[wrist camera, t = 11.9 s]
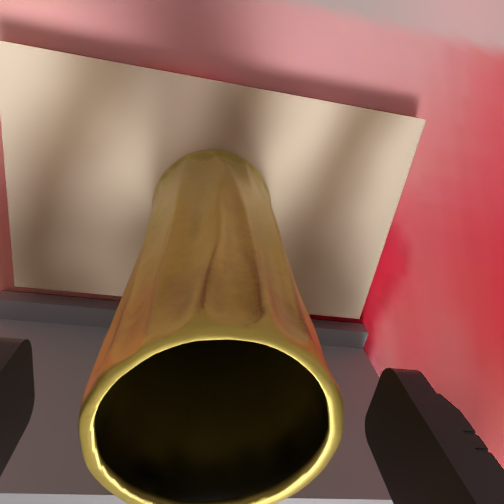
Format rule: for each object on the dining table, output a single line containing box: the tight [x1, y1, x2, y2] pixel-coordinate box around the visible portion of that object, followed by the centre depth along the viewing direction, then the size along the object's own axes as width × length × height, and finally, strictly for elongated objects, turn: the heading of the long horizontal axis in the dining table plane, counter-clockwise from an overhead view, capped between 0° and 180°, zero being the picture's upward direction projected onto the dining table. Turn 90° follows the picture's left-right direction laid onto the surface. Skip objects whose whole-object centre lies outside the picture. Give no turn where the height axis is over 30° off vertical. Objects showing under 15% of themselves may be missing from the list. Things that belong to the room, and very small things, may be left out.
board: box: [0, 41, 426, 319], centre depth 21 cm, size 20×12×1 cm, turn 80°
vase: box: [78, 150, 344, 504], centre depth 14 cm, size 6×6×14 cm
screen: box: [0, 290, 393, 504], centre depth 20 cm, size 22×4×11 cm, turn 80°
